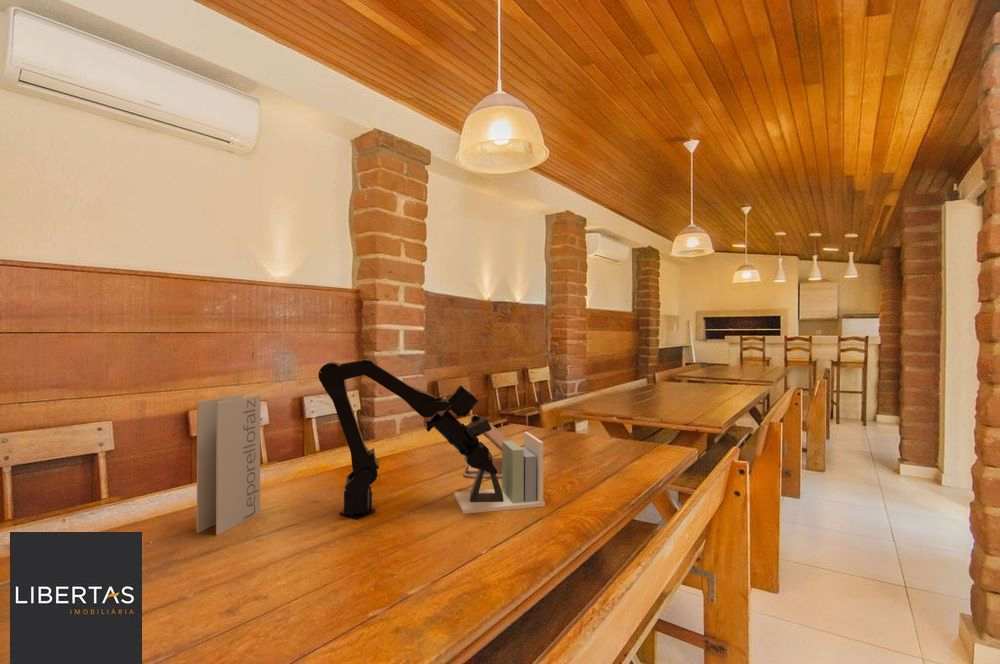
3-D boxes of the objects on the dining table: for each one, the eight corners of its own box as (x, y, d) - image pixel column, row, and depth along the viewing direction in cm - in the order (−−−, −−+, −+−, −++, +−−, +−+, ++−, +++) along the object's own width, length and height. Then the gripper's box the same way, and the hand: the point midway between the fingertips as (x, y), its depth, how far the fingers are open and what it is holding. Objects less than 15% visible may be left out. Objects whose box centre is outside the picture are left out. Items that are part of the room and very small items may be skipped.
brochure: (217, 535, 110) (217, 402, 110) (196, 533, 111) (196, 402, 111) (260, 512, 124) (260, 394, 124) (241, 510, 125) (241, 394, 125)
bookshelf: (463, 513, 123) (463, 447, 123) (454, 495, 137) (454, 435, 137) (544, 506, 129) (545, 442, 129) (528, 489, 142) (528, 431, 142)
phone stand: (502, 494, 135) (502, 451, 135) (503, 501, 129) (503, 456, 129) (470, 494, 135) (470, 451, 135) (469, 502, 129) (469, 457, 129)
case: (528, 479, 153) (529, 428, 153) (462, 478, 153) (462, 428, 153) (526, 462, 173) (526, 417, 173) (467, 462, 174) (468, 417, 174)
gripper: (480, 413, 122) (522, 454, 125) (466, 402, 140) (503, 439, 143) (449, 446, 120) (492, 487, 123) (439, 431, 138) (477, 467, 141)
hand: (492, 468), depth 132 cm, fingers open, 9 cm apart
